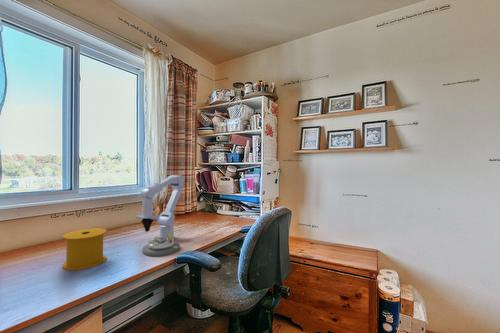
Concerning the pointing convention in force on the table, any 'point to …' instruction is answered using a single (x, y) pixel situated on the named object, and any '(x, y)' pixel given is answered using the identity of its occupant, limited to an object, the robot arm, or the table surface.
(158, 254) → the base plate
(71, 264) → the spool
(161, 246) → the silver round metal fixture
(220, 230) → the table surface
